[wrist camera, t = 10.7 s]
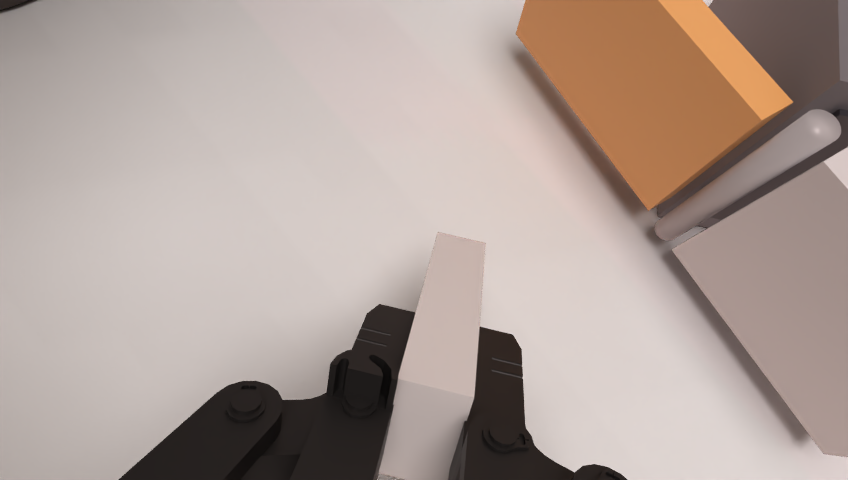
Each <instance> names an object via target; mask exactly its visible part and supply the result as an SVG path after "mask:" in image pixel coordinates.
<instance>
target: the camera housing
mask: <svg viewBox="0 0 848 480" xmlns="http://www.w3.org/2000/svg"><path fill="white" fill-rule="evenodd" d="M709 8H710V10H711V11H712V12H713V13H714V14H715V15H716V16H717V17H718V19H719V20H720V21H721V22H722V23H723V24H724V25H725V26H726V27H727V29H728V30H729V31H730V32H731V33H732V34H733V35H734V36H735V38H736V39H737V40H738V41H739V42H740V43H741V44H742V45H743V46H744V48H745V49H746V50H747V51H748V52H749V53H750V54H751V55H752V56H753V58H754V59H755V60H756V61H757V62H758V63H759V64H760V65H761V67H762V68H763V69H764V70H765V71H766V72H767V73H768V74H769V75H770V77H771V78H772V79H773V80H774V81H775V82H776V83H777V84H778V85H779V87H780V88H781V89H782V90H783V91H784V92H785V93H786V94H787V96H788V97H789V98H790V99H791V100H792V101H793V103H792V104H791V105H789V106H788V107H787V108H786V109H784V110H783V111H782V112H780V113H779V114H778V115H777V116H775V117H774V118H773V119H771V120H770V121H769V122H768V123H766V124H765V125H764V126H762V127H761V128H760V129H759V130H757V131H756V132H755V133H753V134H752V135H751V136H750V137H748V138H747V139H746V140H744V141H743V142H742V143H740V144H739V145H738V146H737V147H735V148H734V149H733V150H731V151H730V152H729V153H728V154H726V155H725V156H724V157H722V158H721V159H720V160H719V161H717V162H716V163H715V164H713V165H712V166H711V167H710V168H708V169H707V170H706V171H704V172H703V173H702V174H701V175H699V176H698V177H697V178H695V179H694V180H693V181H692V182H690V183H689V184H688V185H686V186H685V187H684V188H683V189H681V190H680V191H679V192H677V193H676V194H675V195H674V196H672V197H671V198H669V199H668V200H666V201H664V202H662V203H661V204H659V205H658V215H657V216H659V217H664V216H665V215H666V214H668V213H669V212H670V211H672V210H673V209H675V208H676V207H677V206H679V205H680V204H682V203H683V202H684V201H686V200H687V199H688V198H690V197H691V196H693V195H694V194H695V193H697V192H698V191H699V190H701V189H702V188H704V187H705V186H706V185H708V184H709V183H710V182H712V181H713V180H715V179H716V178H717V177H719V176H720V175H722V174H723V173H724V172H726V171H727V170H728V169H730V168H731V167H733V166H734V165H735V164H737V163H738V162H739V161H741V160H742V159H744V158H745V157H746V156H748V155H749V154H750V153H752V152H753V151H755V150H756V149H757V148H759V147H760V146H762V145H763V144H764V143H766V142H767V141H768V140H770V139H771V138H773V137H774V136H775V135H777V134H778V133H779V132H781V131H782V130H784V129H785V128H786V127H788V126H789V125H791V124H792V123H793V122H795V121H796V120H797V119H799V118H800V117H802V116H803V115H804V114H806V113H807V112H808V111H810V110H814V109H821V110H825V111H827V112H829V113H831V114H832V115H834V116H835V117H836V119H837V120H838V121H839V123H840V126H841V135H840V137H839V138H838V139H837V140H836V141H834V142H832V143H831V144H829V145H827V146H826V147H824V148H822V149H821V150H819V151H818V152H816V153H814V154H813V155H811V156H809V157H808V158H806V159H804V160H803V161H801V162H800V163H798V164H796V165H795V166H793V167H791V168H790V169H788V170H786V171H785V172H783V173H782V174H780V175H778V176H777V177H775V178H773V179H772V180H770V181H768V182H767V183H765V184H764V185H762V186H760V187H759V188H757V189H755V190H754V191H752V192H750V193H749V194H747V195H746V196H744V197H742V198H741V199H739V200H737V201H736V202H734V203H732V204H731V205H729V206H728V207H726V208H724V209H723V210H721V211H719V212H718V213H716V214H714V215H713V216H711V217H710V218H708V219H706V220H705V221H703V222H701V223H700V224H698V226H702V227H707V228H709V227H710V226H712V225H714V224H716V223H717V222H719V221H721V220H722V219H724V218H726V217H728V216H729V215H731V214H733V213H734V212H736V211H738V210H740V209H741V208H743V207H745V206H747V205H748V204H750V203H752V202H753V201H755V200H757V199H759V198H760V197H762V196H764V195H766V194H767V193H769V192H771V191H772V190H774V189H776V188H778V187H779V186H781V185H783V184H785V183H786V182H788V181H790V180H791V179H793V178H795V177H797V176H798V175H800V174H802V173H803V172H805V171H807V170H809V169H810V168H812V167H814V166H816V165H817V164H819V163H821V162H822V161H824V160H826V159H828V158H829V157H831V156H833V155H835V154H836V153H838V152H840V151H841V150H843V149H845V148H847V147H848V0H713V2H712V3H711V4H710V6H709Z"/></svg>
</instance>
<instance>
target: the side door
mask: <svg viewBox="0 0 848 480" xmlns="http://www.w3.org/2000/svg"><path fill="white" fill-rule="evenodd" d="M516 35H517V36H518V37H519V39H520V40H521V41H522V43H523V44H524V45H525V47H526V48H527V49H528V51H529V52H530V53H531V55H532V56H533V57H534V59H535V60H536V61H537V63H538V64H539V65H540V67H541V68H542V69H543V71H544V72H545V73H546V75H547V76H548V77H549V79H550V80H551V81H552V83H553V84H554V85H555V87H556V88H557V89H558V91H559V92H560V93H561V95H562V96H563V97H564V99H565V100H566V101H567V103H568V104H569V106H570V107H571V108H572V110H573V111H574V112H575V114H576V115H577V116H578V118H579V119H580V120H581V122H582V123H583V124H584V126H585V127H586V128H587V130H588V131H589V132H590V134H591V135H592V136H593V138H594V139H595V140H596V142H597V143H598V144H599V146H600V147H601V148H602V150H603V151H604V152H605V154H606V155H607V156H608V158H609V159H610V160H611V162H612V163H613V164H614V166H615V167H616V168H617V170H618V171H619V172H620V174H621V175H622V176H623V178H624V179H625V180H626V182H627V183H628V184H629V186H630V187H631V188H632V190H633V191H634V192H635V194H636V195H637V196H638V198H639V199H640V200H641V202H642V203H643V204H644V206H645V207H646V208H647V210H648V211H649V210H650V209H652V208H654V207H655V206H657V205H659V204H661V203H662V202H664V201H666V200H668V199H669V198H671V197H672V196H674V195H675V194H676V193H677V192H679V191H680V190H681V189H683V188H684V187H685V186H686V185H688V184H689V183H690V182H692V181H693V180H694V179H695V178H697V177H698V176H699V175H701V174H702V173H703V172H704V171H706V170H707V169H708V168H710V167H711V166H712V165H713V164H715V163H716V162H717V161H719V160H720V159H721V158H722V157H724V156H725V155H726V154H728V153H729V152H730V151H731V150H733V149H734V148H735V147H737V146H738V145H739V144H740V143H742V142H743V141H744V140H746V139H747V138H748V137H750V136H751V135H752V134H753V133H755V132H756V131H757V130H759V129H760V128H761V127H762V126H764V125H765V124H766V123H768V122H769V121H770V120H771V119H773V118H774V117H775V116H777V115H778V114H779V113H780V112H782V111H783V110H784V109H786V108H787V107H788V106H789V105H791V104H792V103H793V101H792V100H791V99H790V98H789V97H788V96H787V94H786V93H785V92H784V91H783V90H782V89H781V88H780V87H779V85H778V84H777V83H776V82H775V81H774V80H773V79H772V78H771V77H770V75H769V74H768V73H767V72H766V71H765V70H764V69H763V68H762V67H761V65H760V64H759V63H758V62H757V61H756V60H755V59H754V58H753V56H752V55H751V54H750V53H749V52H748V51H747V50H746V49H745V48H744V46H743V45H742V44H741V43H740V42H739V41H738V40H737V39H736V38H735V36H734V35H733V34H732V33H731V32H730V31H729V30H728V29H727V27H726V26H725V25H724V24H723V23H722V22H721V21H720V20H719V19H718V17H717V16H716V15H715V14H714V13H713V12H712V11H711V10H710V8H709V7H708V6H707V5H706V4H705V3H704V2H703V1H702V0H526V1H525V4H524V8H523V11H522V14H521V18H520V21H519V25H518V28H517V31H516ZM840 135H841V126H840V123H839V121H838V120H837V119H836V117H835V116H834V115H832V114H831V113H829V112H827V111H825V110H821V109H814V110H810V111H808V112H807V113H806V114H804V115H803V116H802V117H800V118H799V119H797V120H796V121H795V122H793V123H792V124H791V125H789V126H788V127H786V128H785V129H784V130H782V131H781V132H779V133H778V134H777V135H775V136H774V137H773V138H771V139H770V140H768V141H767V142H766V143H764V144H763V145H762V146H760V147H759V148H757V149H756V150H755V151H753V152H752V153H750V154H749V155H748V156H746V157H745V158H744V159H742V160H741V161H739V162H738V163H737V164H735V165H734V166H733V167H731V168H730V169H728V170H727V171H726V172H724V173H723V174H722V175H720V176H719V177H717V178H716V179H715V180H713V181H712V182H710V183H709V184H708V185H706V186H705V187H704V188H702V189H701V190H699V191H698V192H697V193H695V194H694V195H693V196H691V197H690V198H688V199H687V200H686V201H684V202H683V203H682V204H680V205H679V206H677V207H676V208H675V209H673V210H672V211H670V212H669V213H668V214H666V215H665V216H664V217H662V218H661V219H659V220H658V221H657V222H656V224H655V232H656V234H657V235H658V237H659V238H661V239H663V240H666V241H671V240H673V239H675V238H677V237H678V236H680V235H682V234H683V233H685V232H687V231H688V230H690V229H692V228H693V227H695V226H696V225H698V224H700V223H701V222H703V221H705V220H706V219H708V218H710V217H711V216H713V215H714V214H716V213H718V212H719V211H721V210H723V209H724V208H726V207H728V206H729V205H731V204H732V203H734V202H736V201H737V200H739V199H741V198H742V197H744V196H746V195H747V194H749V193H750V192H752V191H754V190H755V189H757V188H759V187H760V186H762V185H764V184H765V183H767V182H768V181H770V180H772V179H773V178H775V177H777V176H778V175H780V174H782V173H783V172H785V171H786V170H788V169H790V168H791V167H793V166H795V165H796V164H798V163H800V162H801V161H803V160H804V159H806V158H808V157H809V156H811V155H813V154H814V153H816V152H818V151H819V150H821V149H822V148H824V147H826V146H827V145H829V144H831V143H832V142H834V141H836V140H837V139H838V138H839V137H840ZM671 250H672V251H673V252H674V254H675V255H676V257H677V258H678V259H679V261H680V262H681V263H682V265H683V266H684V267H685V269H686V270H687V271H688V273H689V274H690V275H691V277H692V278H693V279H694V281H695V282H696V283H697V285H698V286H699V287H700V289H701V290H702V291H703V293H704V294H705V295H706V297H707V298H708V299H709V301H710V302H711V303H712V305H713V306H714V308H715V309H716V310H717V312H718V313H719V314H720V316H721V317H722V318H723V320H724V321H725V322H726V324H727V325H728V326H729V328H730V329H731V330H732V332H733V333H734V334H735V336H736V337H737V338H738V340H739V341H740V342H741V344H742V345H743V346H744V348H745V349H746V350H747V352H748V353H749V354H750V356H751V357H752V358H753V360H754V361H755V363H756V364H757V365H758V367H759V368H760V369H761V371H762V372H763V373H764V375H765V376H766V377H767V379H768V380H769V381H770V383H771V384H772V385H773V387H774V388H775V389H776V391H777V392H778V393H779V395H780V396H781V397H782V399H783V400H784V401H785V403H786V404H787V405H788V407H789V408H790V409H791V411H792V412H793V414H794V415H795V416H796V418H797V419H798V420H799V422H800V423H801V424H802V426H803V427H804V428H805V430H806V431H807V432H808V434H809V435H810V436H811V438H812V439H813V440H814V442H815V443H816V444H817V446H818V447H819V448H820V450H821V451H822V452H823V454H828V455H836V456H843V457H848V147H847V148H845V149H843V150H841V151H840V152H838V153H836V154H835V155H833V156H831V157H829V158H828V159H826V160H824V161H822V162H821V163H819V164H817V165H816V166H814V167H812V168H810V169H809V170H807V171H805V172H803V173H802V174H800V175H798V176H797V177H795V178H793V179H791V180H790V181H788V182H786V183H785V184H783V185H781V186H779V187H778V188H776V189H774V190H772V191H771V192H769V193H767V194H766V195H764V196H762V197H760V198H759V199H757V200H755V201H753V202H752V203H750V204H748V205H747V206H745V207H743V208H741V209H740V210H738V211H736V212H734V213H733V214H731V215H729V216H728V217H726V218H724V219H722V220H721V221H719V222H717V223H716V224H714V225H712V226H710V227H709V228H707V229H705V230H703V231H702V232H700V233H698V234H697V235H695V236H693V237H691V238H690V239H688V240H686V241H685V242H683V243H681V244H680V245H678V246H676V247H675V248H673V249H671Z"/></svg>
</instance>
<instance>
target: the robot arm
mask: <svg viewBox="0 0 848 480" xmlns="http://www.w3.org/2000/svg"><path fill="white" fill-rule="evenodd" d="M25 1H28V0H0V10H1V9H5V8H8V7H11V6H14V5H17V4H20V3H23V2H25ZM485 245H486V243H483V242H479V241H474V240H470V239H466V238H461V237H457V236H453V235H448V234H444V233H440V232H438V233H437V237H436V240H435V244H434V248H433V251H432V255H431V259H430V262H429V266H428V269H427V273H426V277H425V280H424V284H423V288H422V291H421V295H420V299H419V302H418V306H417V310H416V313H415V312H410V311H406V310H402V309H398V308H394V307H390V306H385V305H381V304H379V305H378V306H376V307H375V308H374V309H372V310H371V311H370V312H368V313H367V315H366V317H365V320H364V322H363V324H362V327H361V329H360V331H359V334H358V336H357V339H356V341H355V343H354V346H353V348H352V350H347V351H345V352H343V353H341V354H339V355H338V356H336V358H335V359H334V360H333V361H332V362H331V364H330V371H329V379H328V387H327V393H325V394H323V395H321V396H318V397H315V398H312V399H304V400H282V398H281V397H280V395H279V393H278V391H277V390H275V389H274V388H273V387H271V386H270V385H268V384H265V383H261V382H258V381H242V382H238V383H235V384H231V385H228V386H227V387H225V388H224V389H222V390H220V391H219V392H217V393H216V394H215V395H214V396H213V397H212V398H210V399H209V400H208V401H207V402H206V403H205V404H204V405H203V406H201V407H200V408H199V409H198V410H197V411H196V412H195V413H193V414H192V415H191V416H190V417H189V418H188V419H187V420H186V421H184V422H183V423H182V424H181V425H180V426H179V427H178V428H177V429H175V430H174V431H173V432H172V433H171V434H170V435H169V436H167V437H166V438H165V439H164V440H163V441H162V442H161V443H160V444H158V445H157V446H156V447H155V448H154V449H153V450H152V451H150V452H149V453H148V454H147V455H146V456H145V457H144V458H143V459H141V460H140V461H139V462H138V463H137V464H136V465H135V466H133V467H132V468H131V469H130V470H129V471H128V472H127V473H126V474H124V475H123V476H122V477H121V478H120V479H119V480H377V477H378V473H381V474H385V475H389V476H392V477H396V478H400V479H404V480H627V479H626V478H625V477H624V476H623V475H621V474H620V473H618V472H616V471H614V470H612V469H610V468H608V467H605V466H600V465H596V464H593V465H586V466H582V467H581V468H580V469H579V470H577V471H576V472H575V473H574V472H572V471H571V470H569V469H567V468H565V467H563V466H561V465H559V464H558V463H556V462H554V461H553V460H551V459H549V458H548V457H546V456H545V455H544V454H543V453H542V452H540V451H539V450H538V449H537V448H536V446H535V445H534V443H533V440H532V436H531V435H530V433H529V432H528V431H527V429H526V426H525V414H524V393H523V379H522V377H523V372H522V351H521V348H520V346H519V344H518V343H517V341H516V339H515V338H514V336H513V335H512V334H508V333H503V332H499V331H495V330H491V329H487V328H483V327H480V313H481V299H482V286H483V272H484V259H485Z"/></svg>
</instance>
